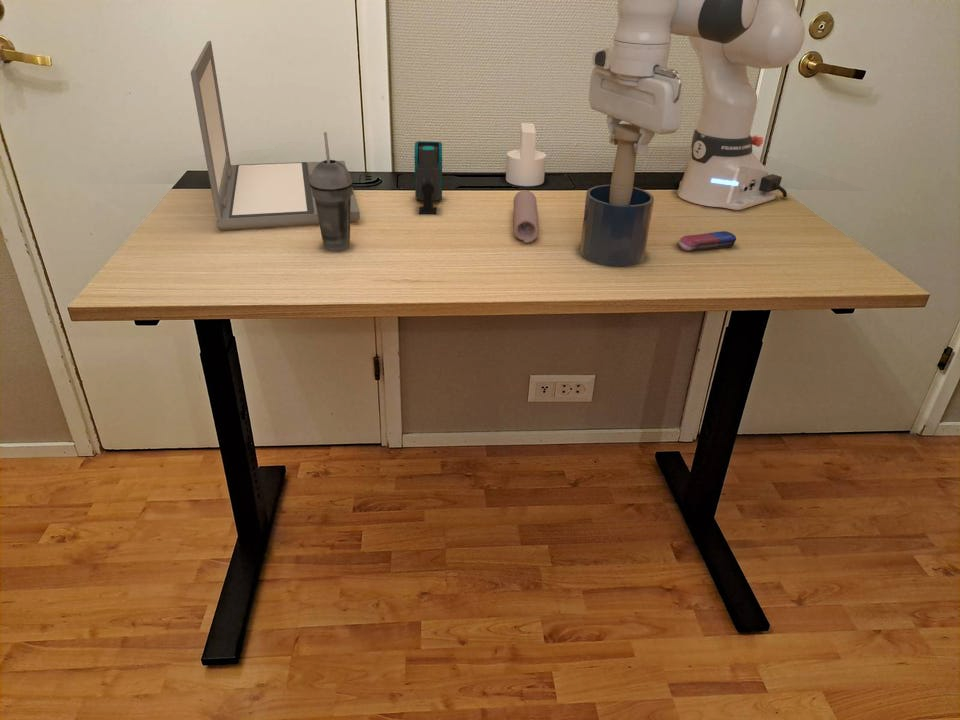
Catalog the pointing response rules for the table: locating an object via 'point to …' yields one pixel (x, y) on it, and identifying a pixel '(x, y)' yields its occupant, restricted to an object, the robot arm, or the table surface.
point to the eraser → (707, 241)
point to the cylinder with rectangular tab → (526, 160)
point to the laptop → (250, 170)
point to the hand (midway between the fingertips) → (627, 148)
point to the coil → (525, 216)
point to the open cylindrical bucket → (615, 227)
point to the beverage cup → (332, 201)
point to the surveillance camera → (428, 174)
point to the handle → (624, 164)
